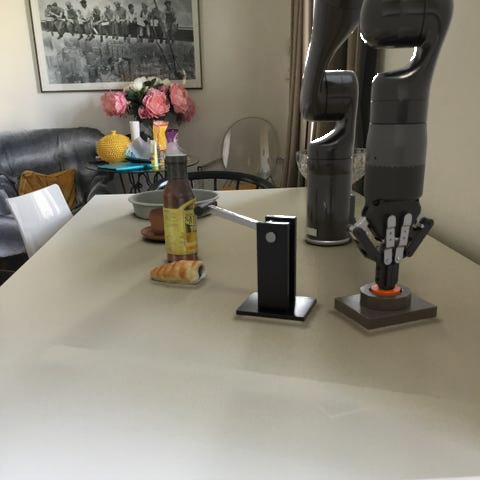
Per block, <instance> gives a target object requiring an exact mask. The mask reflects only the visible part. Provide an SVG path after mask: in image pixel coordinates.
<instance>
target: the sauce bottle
mask: <svg viewBox="0 0 480 480" xmlns="http://www.w3.org/2000/svg"><path fill="white" fill-rule="evenodd" d="M164 157H165V164H166V172H167V173H166V174H167V176H166V178H167V181H166V183H165V185H164V187H163V189H162V190H163V216H164V231H165V241H164V242H165V244H164V245H165V253H166V259H167V261H168V263H172V262H179V261H180V260H185V261H197V260H198V258H199V257H198V256H199V255H198V253H199V239H198V238H199V236H198V219H197V216H196V215H195V214H194V208H195V207H196V198H195V195H194V193H193V190H192V189H193V188H192V185H191V183H190V180H189V175H188V162H189V160H188V154H186V153H173V154H165V155H164Z"/></svg>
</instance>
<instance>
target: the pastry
mask: <svg viewBox="0 0 480 480" xmlns="http://www.w3.org/2000/svg"><path fill="white" fill-rule="evenodd" d="M149 275H150V276H151V278H152V279H153V280H154V281H156V282H162V283H167V284H177V285H191V286H192V285H193V286H195V285H197V284H198V283H200V281H201V280H202V279H204V278H207V270H206V265H205V264H204V262H203V261H202V260H198V261H197V260H190V261H185V260H180V261H179V262H178V261H176V262H172V263H171V262H168V263H166V264H165V265H164V264H162V265H159V266H156V267H154V268H153V269H151V270H150V272H149Z"/></svg>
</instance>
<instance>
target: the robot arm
mask: <svg viewBox="0 0 480 480" xmlns="http://www.w3.org/2000/svg"><path fill="white" fill-rule="evenodd" d="M454 12H455V0H314V7H313V19H312V26H311V27H312V28H311V34H310V41H309V47H308V51H307V55H306V61H305V66H304V70H303V76H302V80H301V87H300V93H299V110H300V111H299V112H300V115H301V117H302V119H303V120H304V121H306V122H309V123H330V122H331V123H332V122H335V126H334V127H333V129H332V130H331V131H330V132H329V133H327V134H325V135H324V136H322V137H320V138H317V139H315V140H313V141H311V142H309V143H308V145H307V148H306V196H305V197H306V198H305V199H306V201H305V202H306V203H305V236H304V237H305V238H304V239H305V242H306V243H308V244H311V245H316V246H327V247H328V246H331V247H333V246H341V245H345V244H348V243H350V242H353V243H354V244H355V246H356V248H357V249H358V250H359V251H360V253H361V254H362V256H363V257H364V258H366V259H368V260H370V261H372V262H374V263H375V274H374V283H376V284H377V285H378V287H379V288H381V289H383V290H390V289H394V288H395V284H398V282H399V273H400V263H401V262H402V261H403V259H405V258H412V257H413V255H414V254H415V252H417V250H418V248H419V247H420V246H421V244H422V242H423V241H424V240H425V238H426V237H427V235H428V234H429V232H430V231H431V229H432V228H433V226H434V225H435V220H434V219H433V218H429V217H427V216H426V215H425V214H423V212H422V204H421V202H420V198H421V197H422V196H423V194H424V187H425V185H424V184H425V174H426V165H427V164H426V163H427V152H428V117H429V108H430V107H429V106H430V96H431V88H432V83H433V78H434V75H435V71H436V67H437V64H438V60H439V57H440V54H441V52H442V49H443V46H444V43H445V41H446V38H447V35H448V33H449V30H450V27H451V24H452V20H453V17H454ZM358 26H359V27H358ZM357 28H359V33H360V37H361V39H362V40H363V41H364V43H365V44H366V45H367V46H369V47H370V48H372V49H375V50H391V49H392V50H394V49H395V50H396V49H414V52H413V56H412V57H411V59H410V60H409V62H408V63H407V64H406V65H404V66H402V67H399V68H395V69H391V70H387V71H386V70H385V71H384V72H381V73H377V75H375V76H374V77H373V80H372V82H371V86H370V87H371V88H370V101H369V117H368V118H369V120H368V123H369V124H368V131H367V136H366V142H365V155H364V157H365V158H364V179H363V197H364V204H363V207H362V210H361V211H360V212H361V213H360V215H361V217H360V218H359V219H358V220H357V218H356V195H355V194H352V192H353V172H354V171H353V170H354V169H353V167H354V149H355V142H356V141H355V139H356V128H357V127H356V125H357V117H358V115H357V114H358V106H359V96H360V95H359V92H360V91H359V87H360V86H359V80H358V77H357V75H356V73H355V72H354V71H353V70H327V69H328V67H329V65H330V63H331V61H332V59H333V57H334V56H335V54H336V53H337V51H338V50H339V49H340V48H341V46H342V45H343V44H344V43H345V42H346V40H347V39H348V38H349V37H350V36H351V34H353V32H355V30H356V29H357ZM370 233H371V239H370V238H369V235H370Z"/></svg>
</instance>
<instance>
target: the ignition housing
mask: <svg viewBox="0 0 480 480" xmlns="http://www.w3.org/2000/svg"><path fill="white" fill-rule="evenodd" d="M375 284H376V283H375V282H370V283H366V284H364V285H362V286H360V287H359V293H358V294H357V293H356V294H351V295H346V296H340V297H335V298H334V302H333V303H334V305H333V308H334V309H335V310H337V311H338V312H340V313H341V314H343V315H344V316H346V317H347V318H349V319H350V320H352V321H354V322H355V323H357V324H358V325H360V326H361V327H363V328H365V329H366V330H368V331H370V330H375V329H380V328H386V327H391V326H396V325H400V324H406V323H411V322H415V321H421V320H426V319H431V318H432V319H433V318H437V314H438V305H436V304H433V303H432V302H429V301H427V300H425V299H423V298H422V297H420V296H417V295H415V294H413V293H412V290H411V288H410V287H408V286H406V285H404V284H400V283H397V284H395V285H397V286H399V287H400V289H401V290H400V294H399V295H393V296H382V295H377V294H373V293H372V292H371V287H372V286H373V285H375Z"/></svg>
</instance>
